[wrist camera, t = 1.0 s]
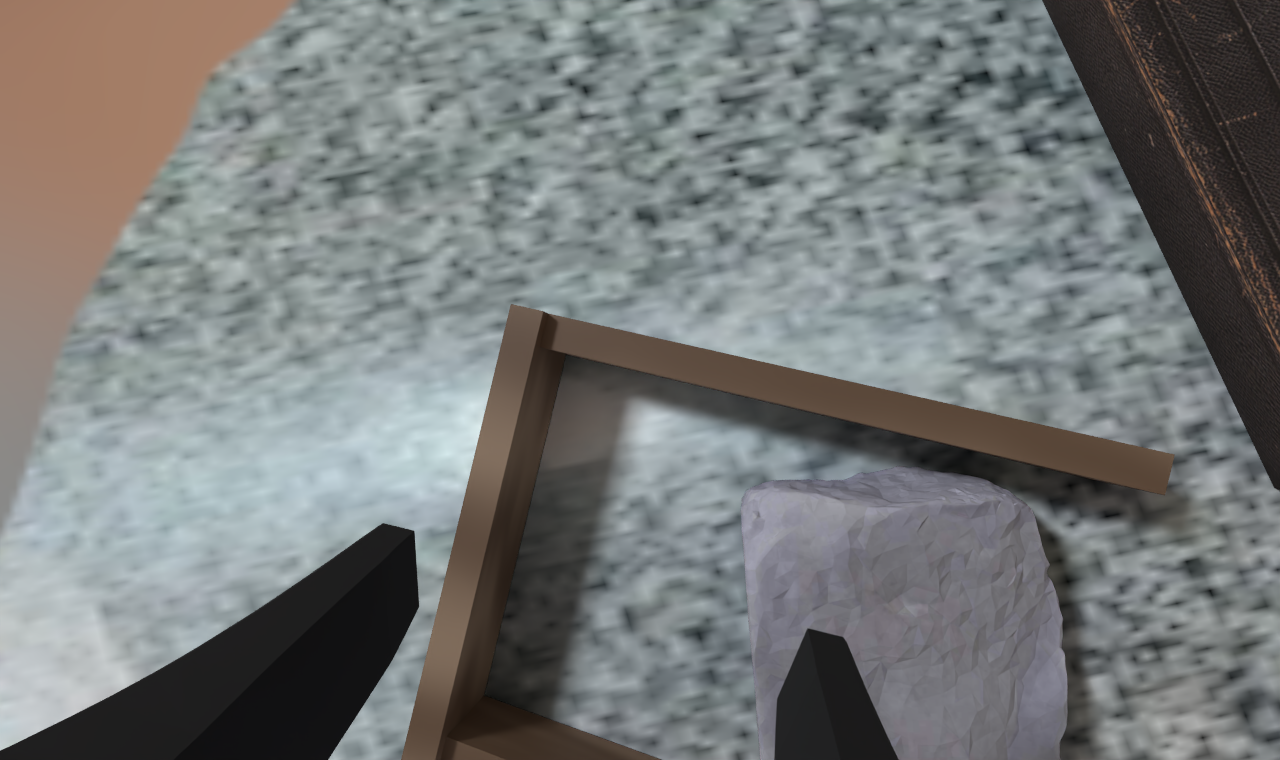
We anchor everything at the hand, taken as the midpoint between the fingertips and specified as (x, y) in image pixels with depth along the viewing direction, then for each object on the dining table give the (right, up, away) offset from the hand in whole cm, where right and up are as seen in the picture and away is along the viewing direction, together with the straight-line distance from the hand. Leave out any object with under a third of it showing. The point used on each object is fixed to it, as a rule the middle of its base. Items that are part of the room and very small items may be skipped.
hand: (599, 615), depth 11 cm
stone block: (+10, -5, +11) cm, 15 cm away
